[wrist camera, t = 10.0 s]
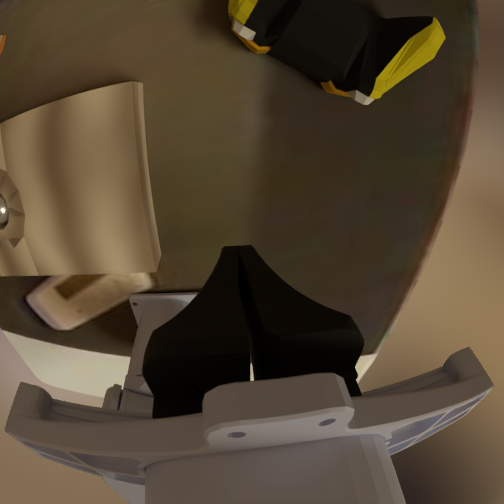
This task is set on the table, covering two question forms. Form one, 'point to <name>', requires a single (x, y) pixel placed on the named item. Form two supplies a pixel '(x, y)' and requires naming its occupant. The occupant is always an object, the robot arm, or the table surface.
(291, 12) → the gaming controller
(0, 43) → the supplement box
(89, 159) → the beige flat block
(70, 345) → the table surface
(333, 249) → the table surface
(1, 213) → the ball
